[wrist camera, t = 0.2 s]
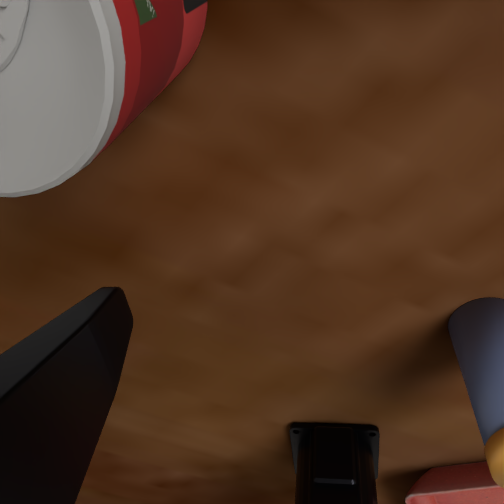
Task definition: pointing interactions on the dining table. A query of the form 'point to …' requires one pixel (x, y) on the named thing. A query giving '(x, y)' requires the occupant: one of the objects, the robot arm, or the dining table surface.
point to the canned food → (82, 78)
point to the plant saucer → (456, 486)
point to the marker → (483, 371)
